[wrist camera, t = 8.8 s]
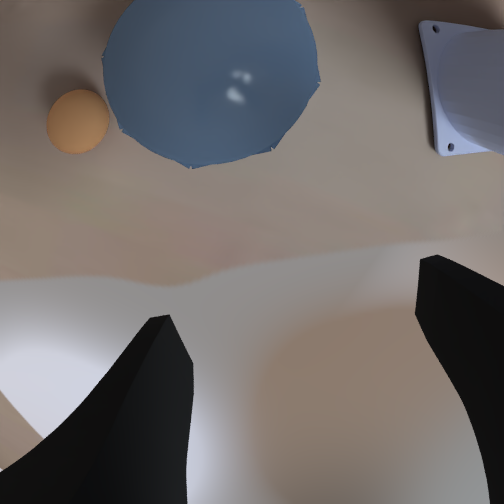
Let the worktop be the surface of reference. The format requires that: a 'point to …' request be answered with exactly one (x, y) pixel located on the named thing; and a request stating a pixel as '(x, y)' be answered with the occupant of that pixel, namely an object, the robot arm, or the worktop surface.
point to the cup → (210, 76)
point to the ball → (77, 121)
